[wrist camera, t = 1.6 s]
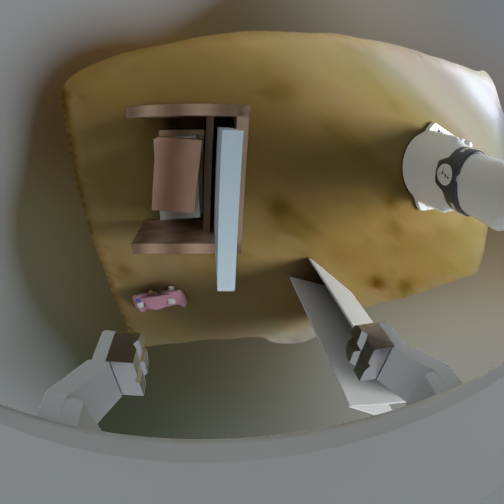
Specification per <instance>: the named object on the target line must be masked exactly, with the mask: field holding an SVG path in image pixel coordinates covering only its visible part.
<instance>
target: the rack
mask: <svg viewBox="0 0 504 504" xmlns="http://www.w3.org/2000/svg"><path fill="white" fill-rule="evenodd" d="M170 117H207V119H206V139H205V165H204V212H203V219H170V220H160V219H158V220H145V222H144V223H143V225H142V227H141V228H140V230H139V231H138V233H137V235H136V237H135V238H134V240H133V242H132V243H131V245H132V253H169V254H215V230H214V220H211V219H210V206H211V171H212V146H213V126H214V117H220V118H232V124H231V128H234V129H238V130H242V131H244V132H243V148H242V164H241V180H240V198H239V216H238V235H237V254H241V243H242V226H243V209H244V193H245V177H246V161H247V146H248V131H249V117H250V106H249V105H232V104H160V105H143V106H131V107H126V118H137V119H147V118H170Z"/></svg>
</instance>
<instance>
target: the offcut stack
mask: <svg viewBox="0 0 504 504" xmlns="http://www.w3.org/2000/svg"><path fill="white" fill-rule="evenodd" d="M204 139H205V129H179V130H159V137H157V138H155V139H153V143H154V158H155V160H154V174H153V190H152V210H158V211H160V220H170V219H184V218H198V217H201V213H202V211H203V169H204Z"/></svg>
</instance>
